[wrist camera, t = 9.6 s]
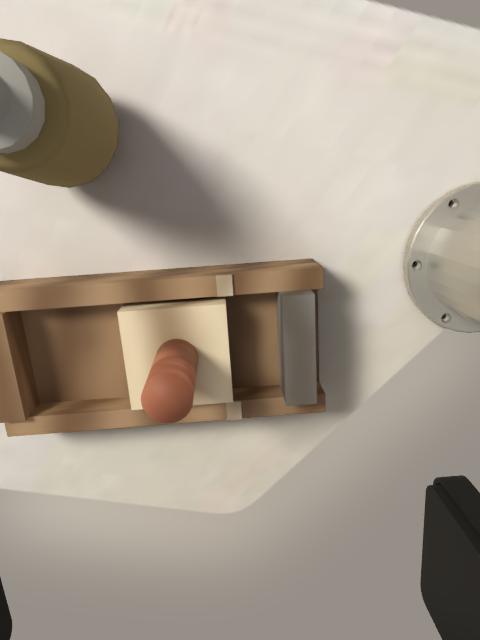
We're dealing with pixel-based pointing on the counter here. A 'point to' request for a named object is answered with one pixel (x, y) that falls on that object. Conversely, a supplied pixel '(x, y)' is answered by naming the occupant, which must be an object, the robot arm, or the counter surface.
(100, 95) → the squeeze bottle
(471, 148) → the counter surface
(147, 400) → the carriage
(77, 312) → the base
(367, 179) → the counter surface
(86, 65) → the counter surface
